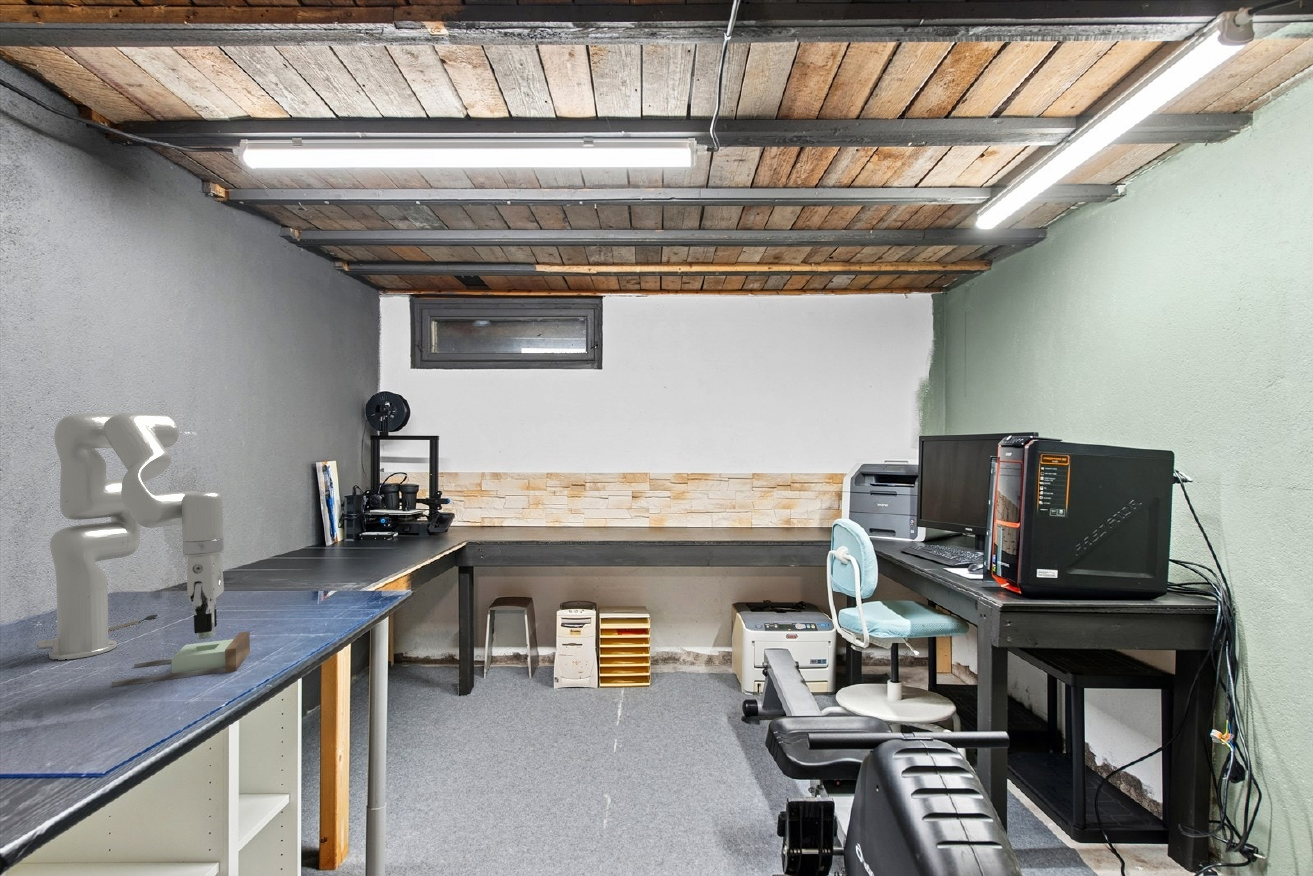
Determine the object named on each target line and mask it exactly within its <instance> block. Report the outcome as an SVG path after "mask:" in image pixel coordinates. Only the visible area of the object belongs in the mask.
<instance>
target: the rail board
mask: <svg viewBox="0 0 1313 876" xmlns="http://www.w3.org/2000/svg"><path fill="white" fill-rule="evenodd" d="M233 639H234V640H233V641H232V642H231V643H230V644H229V646H228V647H227V648H226V649H225V667H218V668H210V669H203V670H195V671H187V672H179V673H172V672H171V673H166V674H164V673H163V674H158V675H150V676H143V677H142V676H141V677H135V678H127V679H119V680H112V681H111V688H113V687H121V686H129V685H136V684H143V683H144V684H145V683H152V682H161V681H169V680H175V679H181V678H182V679H183V678H190V677H197V676H205V675H212V674H219V673H221V674H222V673H233V672H237V671H238V670H239V668H240V667H241V665H242V664H243V663H244V661H245V660H246V659H247V657H248V656H249V655H250V653H251V642H250V631H241V632H239V633H238V634H237V635H236V636H235V638H233ZM169 664H171V665H172V657H171V658H164V659H163V658H162V659H154V660H148V661H138V662H134V667H133V668H134V669H137V668H144V667H146V668H147V667H152V666H153V667H154V666H162V665H169Z"/></svg>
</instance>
